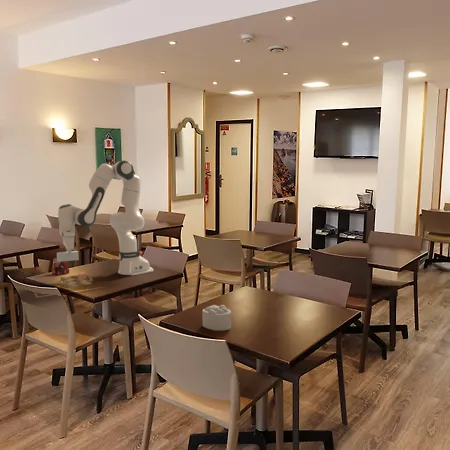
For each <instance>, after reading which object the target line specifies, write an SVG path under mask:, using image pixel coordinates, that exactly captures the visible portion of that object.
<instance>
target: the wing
mask: <svg viewBox="0 0 450 450" xmlns="http://www.w3.org/2000/svg"><path fill="white" fill-rule="evenodd" d="M86 274H87V273H86V272H85V271H81V272H77V275H78V279H79V278H86V277H87V275H86Z"/></svg>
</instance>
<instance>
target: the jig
mask: <svg viewBox="0 0 450 450" xmlns="http://www.w3.org/2000/svg"><path fill="white" fill-rule="evenodd" d="M86 275H87V277H86V278H79V279H78V274H74V275H66V276H60V278H59V279H60V282H61V284H62V285H63V287H64V288H72V287H80V286H88V285H94V279H93V278H92V277H91V276H90V275H89V274H88V273H86Z"/></svg>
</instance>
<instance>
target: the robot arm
mask: <svg viewBox="0 0 450 450" xmlns="http://www.w3.org/2000/svg"><path fill="white" fill-rule="evenodd" d="M134 169H135V168H134V166H133V163H132V162H130V161H129V160H120V161H117V162H116V163H114V164H112V165H110V164H108V163H102V164H100V165H99V166H98V168H97V169H95V171H94V173H93V174H92V177H91V178H90V180H89V183H88V188H89V190H90V191H91V198H90V200H89V202H88V204H87V206H86V208H85V209H83V208H79V207H77V206H74V205H72V204H70V203H69V204H67V203H66V204H63V205H61V206H59V207H58V210H57V211H58V213H57V218H58V219H57V220H58V224H59V225H58V229H59V231H58V232H59V236H61V238H62V244H63V246H64V247H65V252H68V255H71V251H72V250H74V249H75V236H76V230H75V229H76V228H75V227H76V226H75V225H78V226H81V227H84V228H89V227H92V226H93V225H94V224H95V222H96V220H97V219H96V218H97V213H98V210H99V208H100V206H101V204H102V201H103V199H104V197H105V194H106V191H107V189H108V188H109V185H110V183H111V182H112V180H113V179H114V180H118V181H119V180H122V183H123V187H122V193H121V200H120V202H121V204H122V206H124V210H125V211H124V212H122V211H118V212H114V213H112V214H111V215H110V217H109V224H110V226H111V227H112V229H114V232H115V233H116V235H117V239H118V246H119V252H118V258H119V259H118V260H119V267H118V272H117V273H118V274H120V275H123V276H138V275H142V274H147V273H153V272H154V268H153V267H151V266H150V262H149V260H148V259H146V258H144V257H143V256H142V255H143V252H142V251H141V250H138V243H137V242H138V241H137V238H136V236H134V234H133V233H132V231H134V232H135V231H139V230H142V229H143V228H144V226H145V218H144V216H143V215H142V213H141V211H140V204H139V202H140V195H141V178H140V177H139V175H137V174H136V172H135V170H134Z"/></svg>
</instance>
